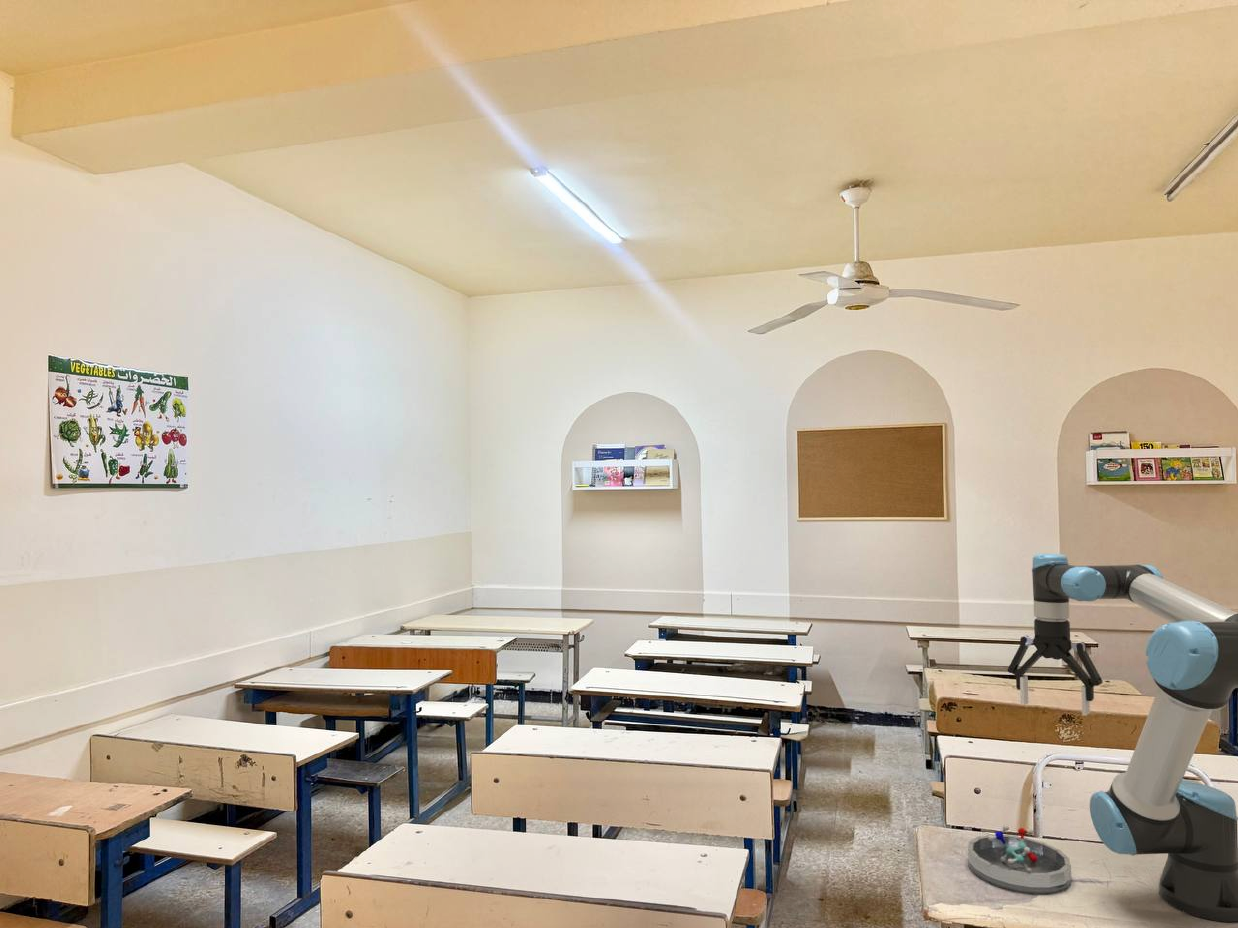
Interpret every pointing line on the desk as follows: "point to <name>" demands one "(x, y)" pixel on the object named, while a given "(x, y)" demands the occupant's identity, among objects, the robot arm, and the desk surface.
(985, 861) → the shallow grey dish
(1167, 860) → the robot arm
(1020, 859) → the molecular model
